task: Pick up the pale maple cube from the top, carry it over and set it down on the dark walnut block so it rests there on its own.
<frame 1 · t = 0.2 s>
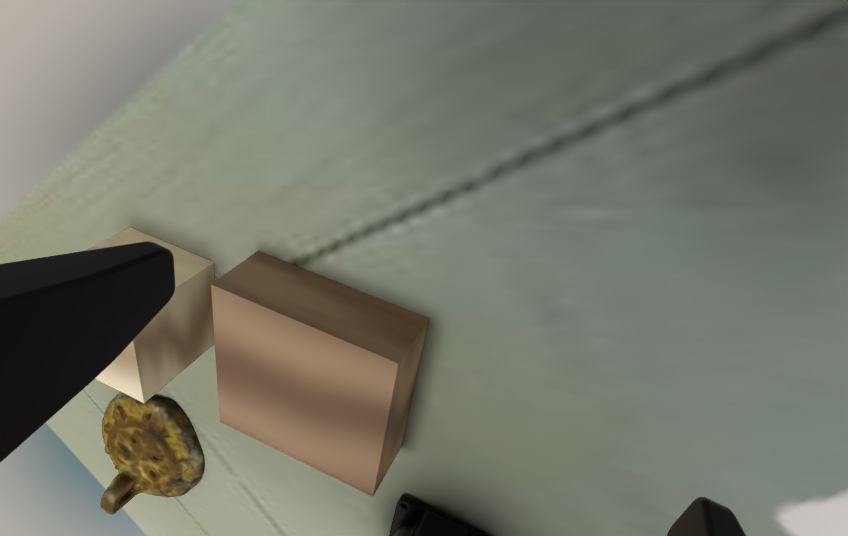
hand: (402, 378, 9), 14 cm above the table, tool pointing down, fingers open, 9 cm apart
maple cube: (176, 285, 33), on the table
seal: (160, 439, 45), on the table
walnut block: (336, 350, 31), on the table
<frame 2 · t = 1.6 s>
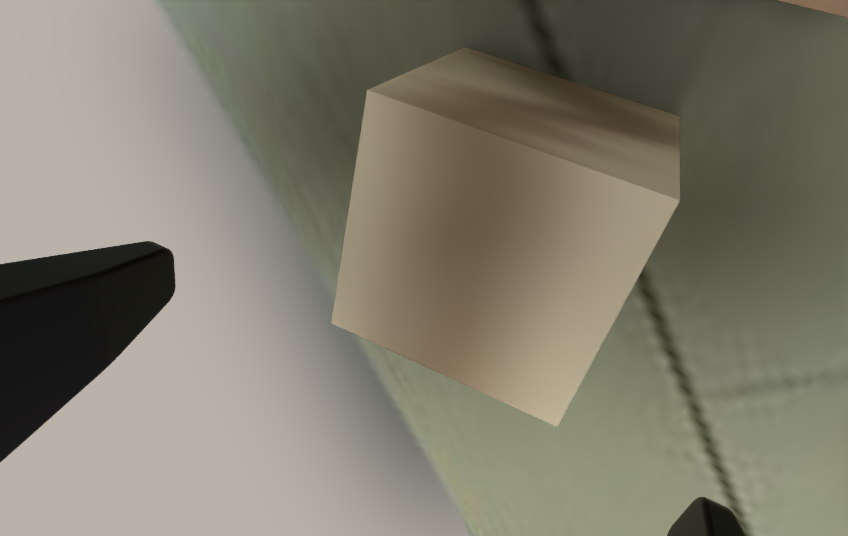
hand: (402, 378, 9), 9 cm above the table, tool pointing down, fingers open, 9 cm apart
maple cube: (532, 179, 16), on the table
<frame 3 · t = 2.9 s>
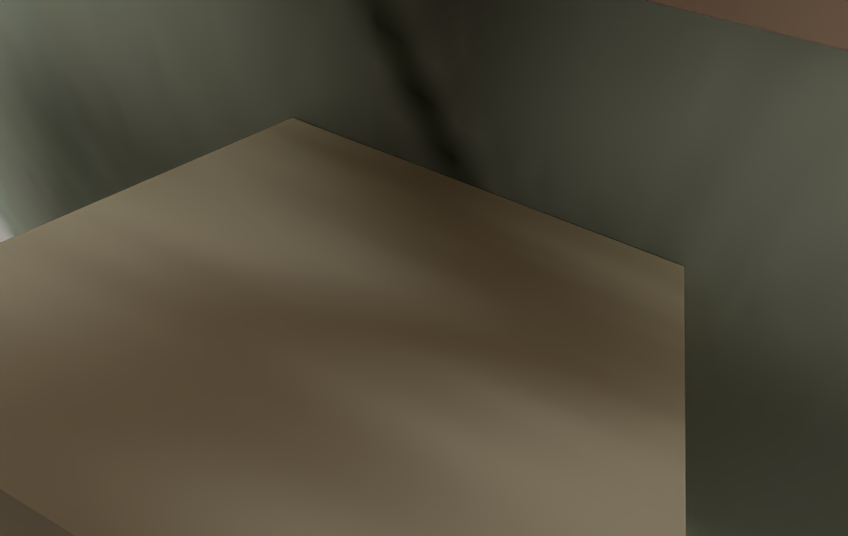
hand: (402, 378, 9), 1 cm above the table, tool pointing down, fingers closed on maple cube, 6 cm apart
maple cube: (427, 339, 9), on the table, touching gripper
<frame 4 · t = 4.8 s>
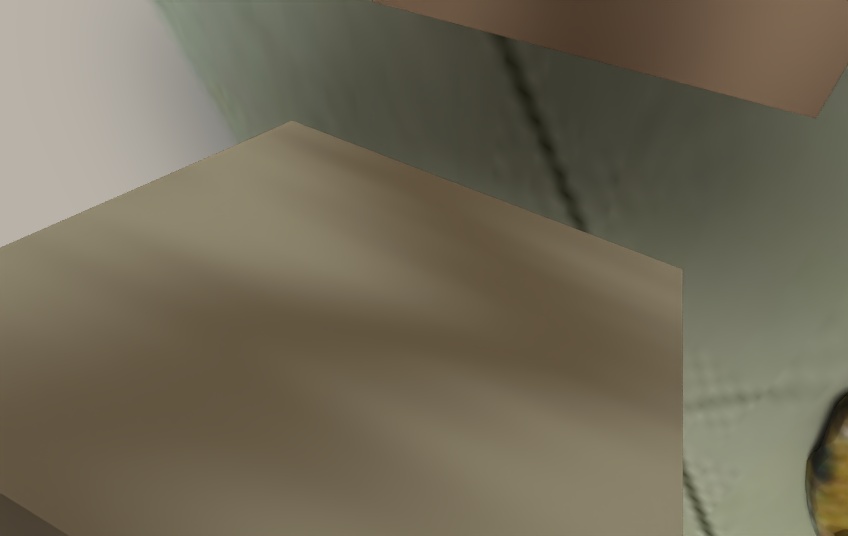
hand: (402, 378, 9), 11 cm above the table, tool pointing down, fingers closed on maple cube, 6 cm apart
maple cube: (427, 341, 9), point 10 cm above the table, touching gripper
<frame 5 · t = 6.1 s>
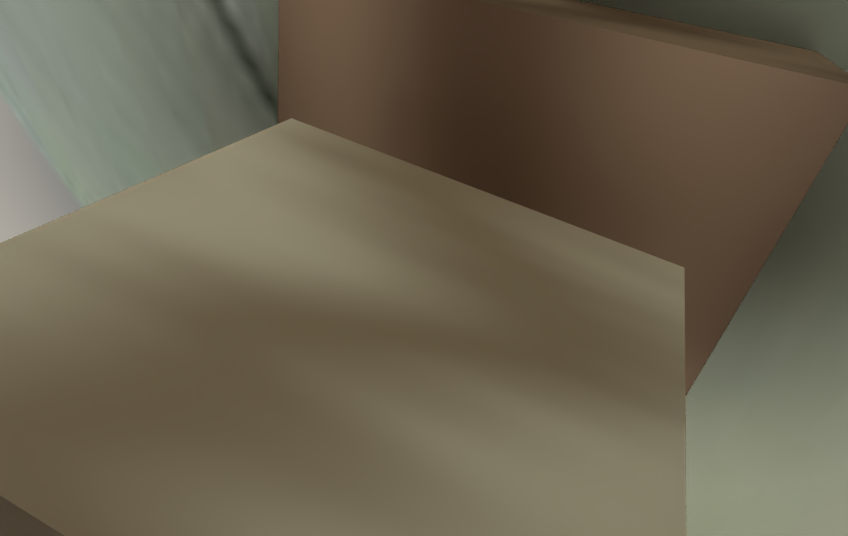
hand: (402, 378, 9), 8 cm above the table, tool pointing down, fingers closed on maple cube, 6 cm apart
maple cube: (427, 340, 9), point 7 cm above the table, touching gripper
walnut block: (518, 196, 15), on the table
when the fingers open (6 cm above the table, at t = 6.8 s): maple cube drops 2 cm, resting on walnut block.
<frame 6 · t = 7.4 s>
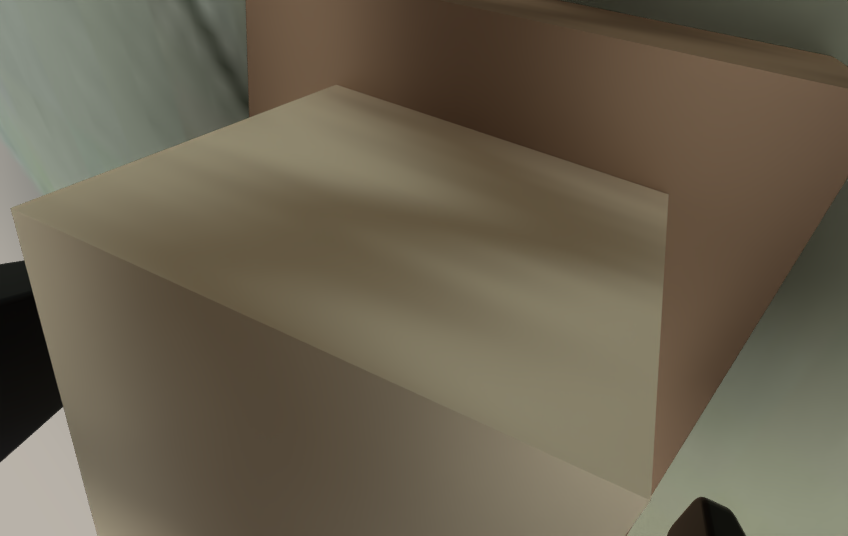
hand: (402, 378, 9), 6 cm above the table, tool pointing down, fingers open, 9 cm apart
maple cube: (452, 277, 11), point 4 cm above the table, touching walnut block
walnut block: (511, 210, 14), on the table, touching maple cube
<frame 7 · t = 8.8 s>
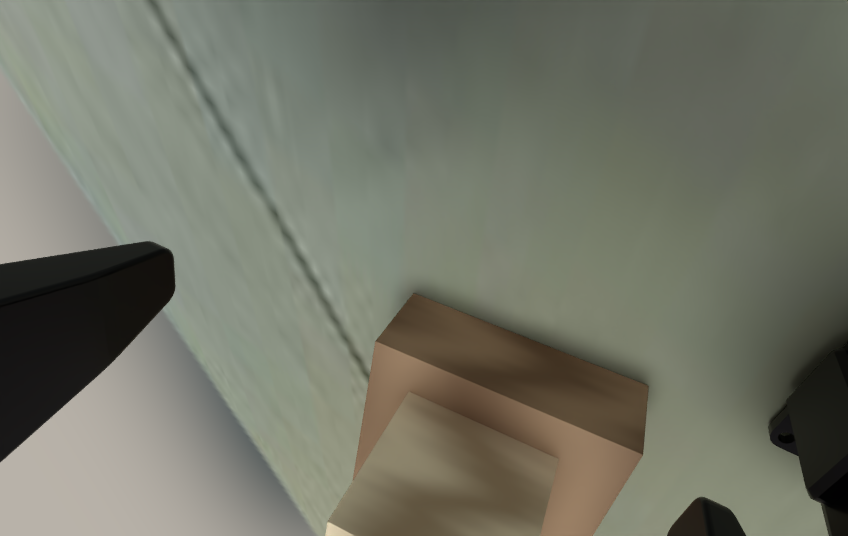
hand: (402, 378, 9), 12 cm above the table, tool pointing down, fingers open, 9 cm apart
maple cube: (463, 472, 22), point 4 cm above the table, touching walnut block
walnut block: (497, 412, 25), on the table, touching maple cube
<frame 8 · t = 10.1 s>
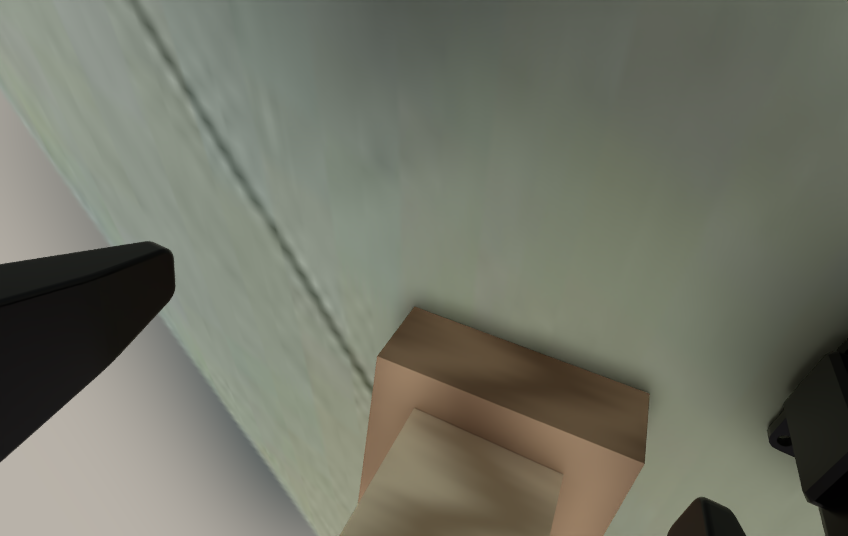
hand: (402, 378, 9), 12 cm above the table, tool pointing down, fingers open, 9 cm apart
maple cube: (469, 487, 22), point 4 cm above the table, touching walnut block
walnut block: (501, 423, 25), on the table, touching maple cube
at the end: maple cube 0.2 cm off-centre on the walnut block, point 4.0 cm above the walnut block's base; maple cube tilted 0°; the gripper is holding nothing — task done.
